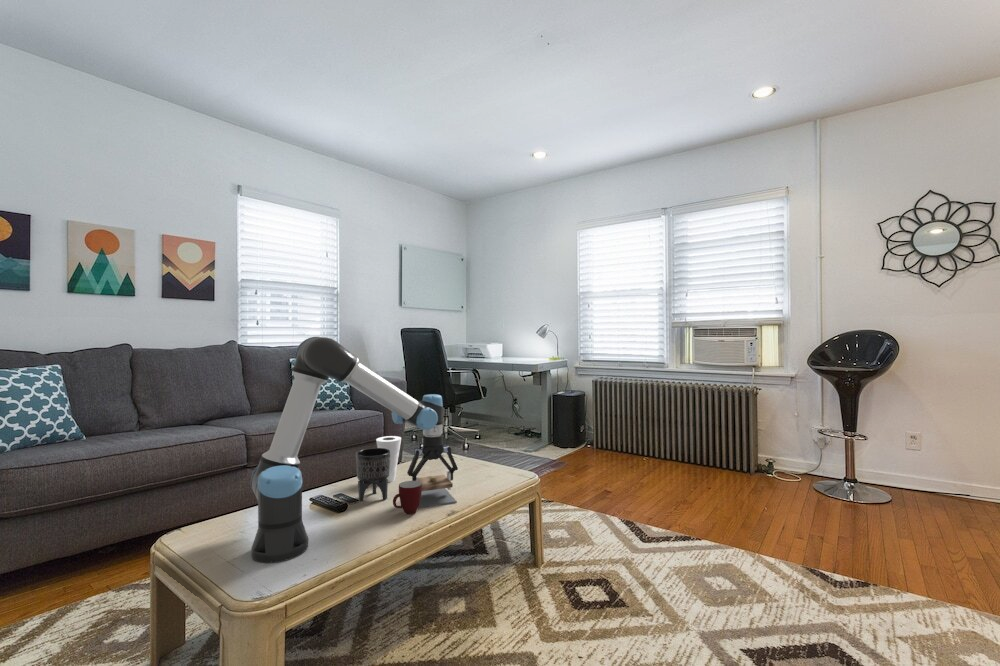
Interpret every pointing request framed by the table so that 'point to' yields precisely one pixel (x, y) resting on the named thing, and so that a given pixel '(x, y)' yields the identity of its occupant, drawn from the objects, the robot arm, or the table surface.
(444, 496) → the mat
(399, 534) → the table surface
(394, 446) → the paper towel roll
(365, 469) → the planter
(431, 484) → the lid
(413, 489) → the mug
